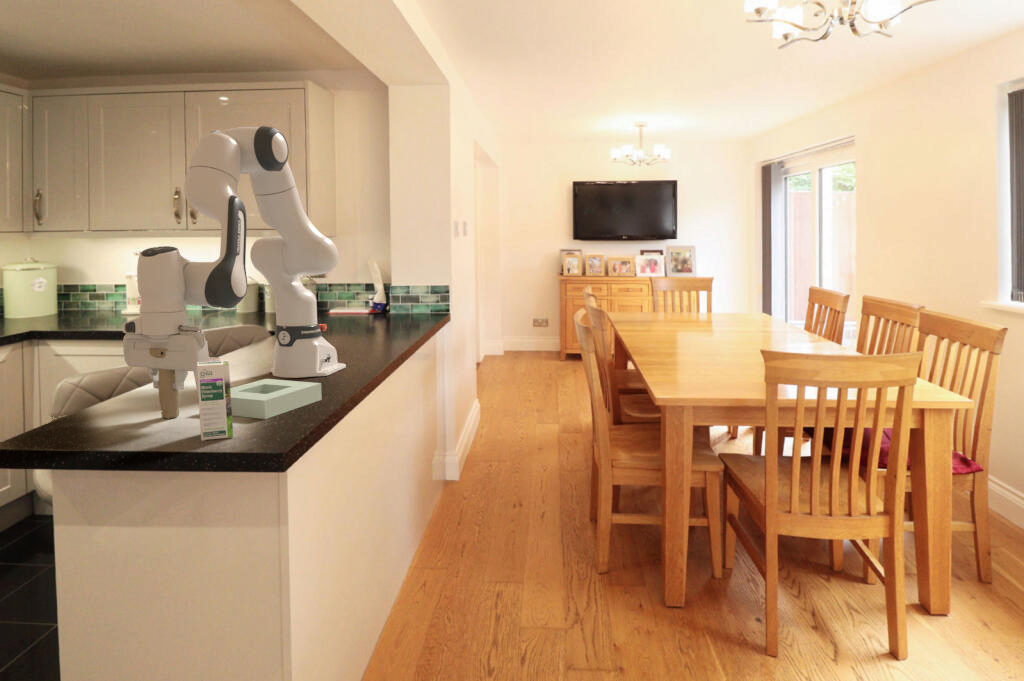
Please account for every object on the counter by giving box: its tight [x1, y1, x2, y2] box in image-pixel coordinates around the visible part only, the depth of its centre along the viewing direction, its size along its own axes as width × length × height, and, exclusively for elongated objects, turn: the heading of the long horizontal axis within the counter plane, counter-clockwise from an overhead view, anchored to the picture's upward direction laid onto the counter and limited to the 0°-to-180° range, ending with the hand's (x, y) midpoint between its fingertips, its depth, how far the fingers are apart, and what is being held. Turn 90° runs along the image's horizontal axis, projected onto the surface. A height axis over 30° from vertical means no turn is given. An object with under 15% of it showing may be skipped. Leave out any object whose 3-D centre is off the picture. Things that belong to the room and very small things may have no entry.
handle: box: [149, 348, 181, 420], centre depth 150 cm, size 5×6×15 cm
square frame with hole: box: [230, 378, 323, 420], centre depth 162 cm, size 20×16×4 cm
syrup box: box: [197, 359, 234, 442], centre depth 136 cm, size 6×6×14 cm
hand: (168, 389), depth 151 cm, fingers closed on handle, 4 cm apart
